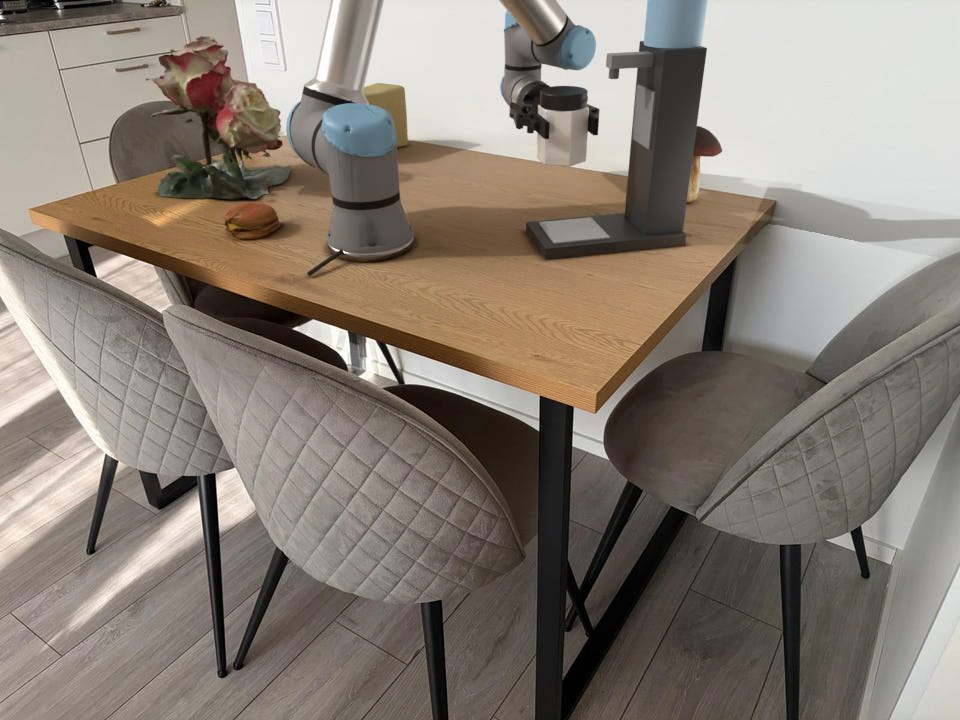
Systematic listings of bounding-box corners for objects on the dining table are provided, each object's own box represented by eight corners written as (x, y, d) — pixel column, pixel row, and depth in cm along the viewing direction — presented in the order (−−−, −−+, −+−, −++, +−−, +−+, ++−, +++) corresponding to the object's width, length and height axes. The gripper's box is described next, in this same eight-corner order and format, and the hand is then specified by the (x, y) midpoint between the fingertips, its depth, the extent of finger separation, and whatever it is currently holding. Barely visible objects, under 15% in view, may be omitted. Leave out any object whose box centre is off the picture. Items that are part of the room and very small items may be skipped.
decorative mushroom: (718, 197, 149) (729, 121, 141) (708, 214, 141) (720, 135, 133) (664, 190, 153) (673, 117, 145) (652, 207, 145) (660, 130, 137)
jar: (591, 165, 128) (596, 93, 122) (547, 169, 127) (549, 97, 121) (574, 151, 136) (577, 83, 130) (532, 155, 134) (533, 86, 128)
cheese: (351, 167, 172) (343, 101, 164) (321, 161, 176) (312, 97, 169) (410, 145, 187) (406, 84, 179) (381, 140, 192) (376, 80, 184)
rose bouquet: (275, 202, 152) (248, 46, 136) (145, 197, 156) (105, 46, 140) (317, 166, 173) (299, 28, 157) (202, 163, 177) (173, 28, 162)
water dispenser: (544, 259, 124) (553, -43, 101) (525, 232, 135) (529, -47, 111) (690, 244, 128) (731, -49, 105) (660, 219, 139) (691, -52, 116)
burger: (284, 221, 142) (280, 198, 140) (273, 239, 134) (268, 215, 132) (234, 222, 142) (229, 199, 140) (219, 240, 134) (214, 216, 132)
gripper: (585, 117, 147) (627, 146, 128) (483, 124, 143) (512, 155, 124) (587, 77, 143) (631, 102, 124) (483, 84, 139) (512, 110, 120)
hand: (571, 129), depth 124 cm, fingers closed on jar, 8 cm apart
